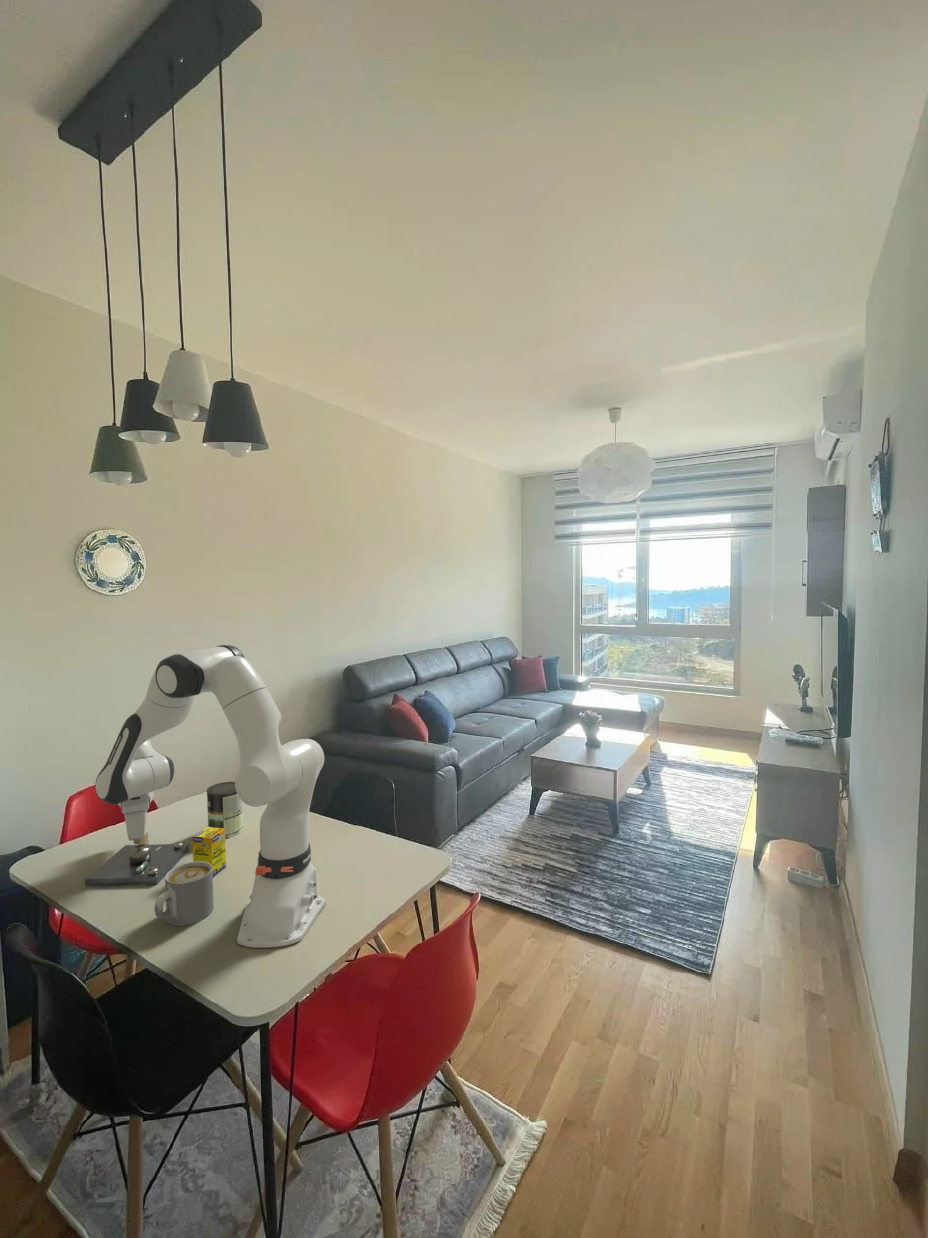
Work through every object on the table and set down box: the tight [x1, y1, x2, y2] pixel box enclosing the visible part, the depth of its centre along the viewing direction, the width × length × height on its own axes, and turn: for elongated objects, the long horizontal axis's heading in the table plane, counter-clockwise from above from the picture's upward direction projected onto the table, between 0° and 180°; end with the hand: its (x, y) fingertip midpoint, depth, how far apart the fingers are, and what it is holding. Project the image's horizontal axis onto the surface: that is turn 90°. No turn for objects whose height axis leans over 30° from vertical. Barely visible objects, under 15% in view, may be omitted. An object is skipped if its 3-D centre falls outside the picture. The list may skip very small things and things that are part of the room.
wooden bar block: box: [129, 832, 151, 864], centre depth 151 cm, size 12×5×3 cm, turn 24°
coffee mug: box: [154, 861, 214, 927], centre depth 126 cm, size 13×10×10 cm
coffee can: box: [206, 781, 244, 839], centre depth 170 cm, size 10×10×14 cm
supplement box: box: [192, 826, 227, 878], centre depth 146 cm, size 6×6×11 cm
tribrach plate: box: [84, 841, 190, 888], centre depth 148 cm, size 18×18×3 cm
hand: (137, 842), depth 155 cm, fingers closed, pressing on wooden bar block
